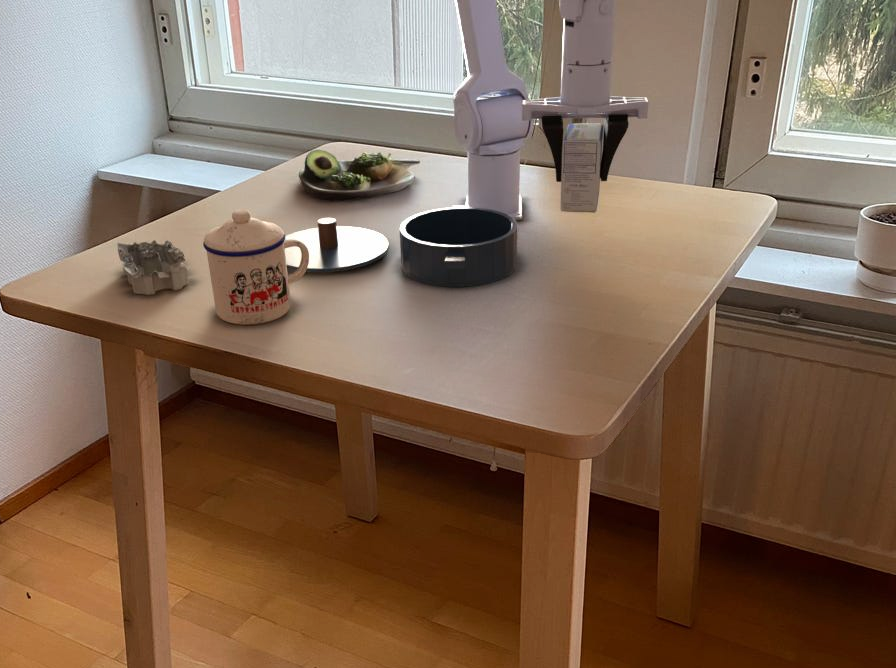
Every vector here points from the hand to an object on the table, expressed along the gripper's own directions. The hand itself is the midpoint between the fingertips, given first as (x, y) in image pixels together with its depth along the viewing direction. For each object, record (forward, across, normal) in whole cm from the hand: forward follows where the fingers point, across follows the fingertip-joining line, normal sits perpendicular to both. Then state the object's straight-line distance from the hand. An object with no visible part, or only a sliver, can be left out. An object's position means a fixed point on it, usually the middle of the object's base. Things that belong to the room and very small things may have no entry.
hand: (580, 179), depth 123 cm
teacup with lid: (+10, -37, -17) cm, 42 cm away
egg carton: (+10, -53, -8) cm, 54 cm away
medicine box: (+3, 0, 0) cm, 3 cm away
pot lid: (+9, -32, 0) cm, 33 cm away
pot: (+9, -15, -4) cm, 18 cm away
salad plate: (+10, -33, +30) cm, 46 cm away
